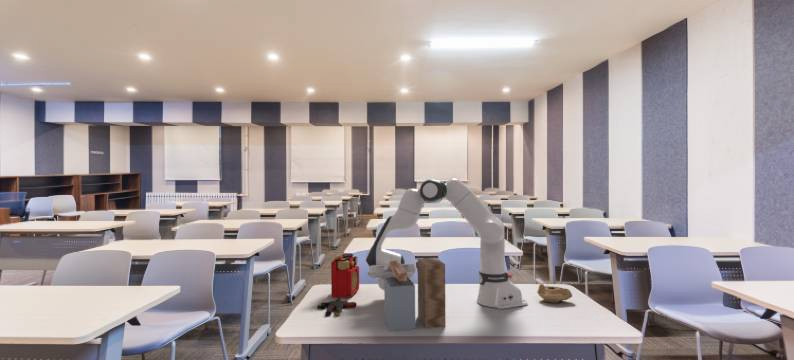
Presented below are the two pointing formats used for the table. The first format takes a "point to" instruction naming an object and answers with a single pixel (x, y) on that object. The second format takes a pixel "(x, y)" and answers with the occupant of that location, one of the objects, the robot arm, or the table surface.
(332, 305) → the toy
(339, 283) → the radio
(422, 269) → the post
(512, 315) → the table surface
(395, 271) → the bar
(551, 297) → the oil lamp
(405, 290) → the dock
